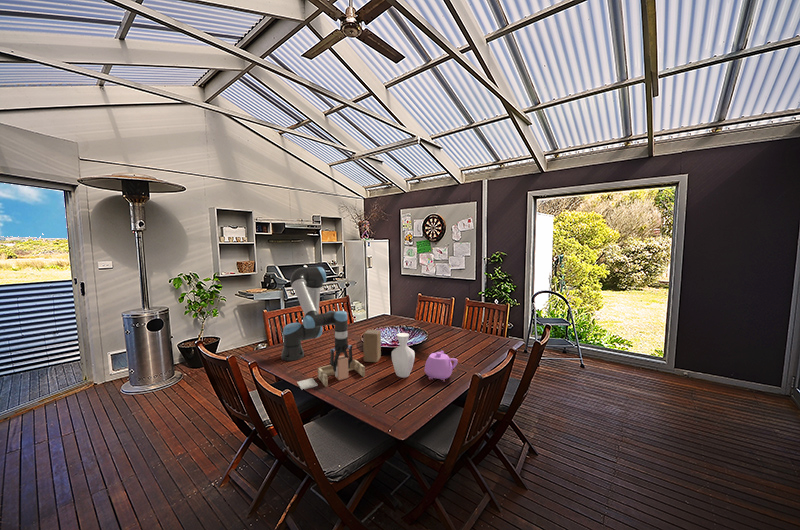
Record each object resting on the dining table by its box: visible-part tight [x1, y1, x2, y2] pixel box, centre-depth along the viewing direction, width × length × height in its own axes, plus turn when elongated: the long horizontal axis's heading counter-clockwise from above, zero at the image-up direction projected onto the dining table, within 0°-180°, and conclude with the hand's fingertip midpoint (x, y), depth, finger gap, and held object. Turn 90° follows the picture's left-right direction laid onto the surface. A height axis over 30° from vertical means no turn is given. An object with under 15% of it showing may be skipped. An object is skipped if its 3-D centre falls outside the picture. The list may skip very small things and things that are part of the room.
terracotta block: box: [334, 354, 349, 381], centre depth 180 cm, size 6×6×12 cm
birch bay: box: [317, 358, 366, 388], centre depth 180 cm, size 14×24×6 cm, turn 123°
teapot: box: [424, 350, 458, 381], centre depth 182 cm, size 20×20×15 cm
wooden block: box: [362, 328, 382, 363], centre depth 206 cm, size 10×10×20 cm
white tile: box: [296, 377, 319, 391], centre depth 171 cm, size 10×9×1 cm
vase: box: [391, 332, 416, 378], centre depth 183 cm, size 14×14×25 cm
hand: (341, 374), depth 180 cm, fingers open, 6 cm apart
